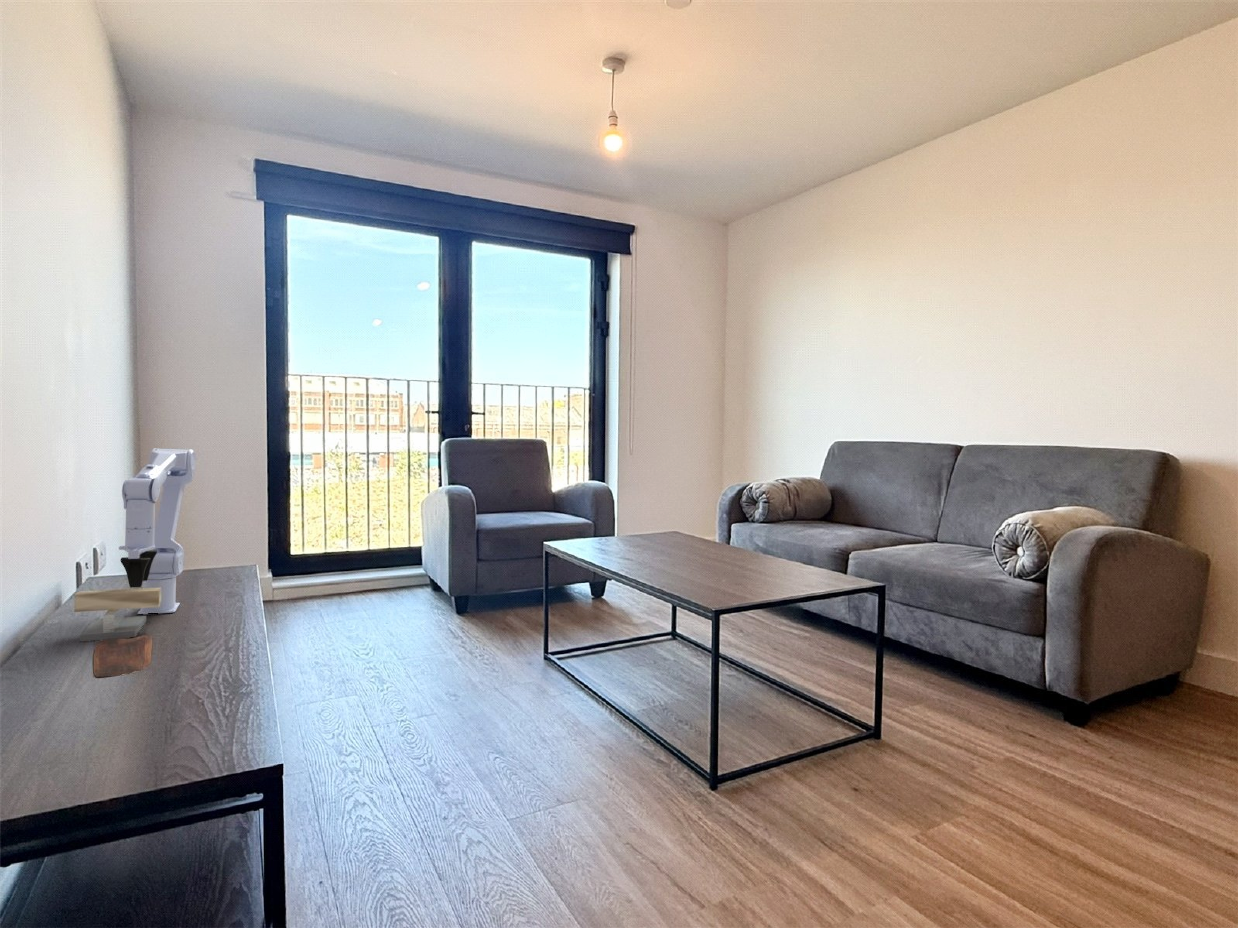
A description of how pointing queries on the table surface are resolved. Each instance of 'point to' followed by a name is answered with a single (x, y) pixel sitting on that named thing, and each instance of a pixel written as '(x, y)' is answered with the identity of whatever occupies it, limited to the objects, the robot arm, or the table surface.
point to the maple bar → (117, 599)
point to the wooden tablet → (122, 655)
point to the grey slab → (123, 631)
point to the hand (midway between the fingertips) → (138, 583)
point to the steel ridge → (113, 619)
